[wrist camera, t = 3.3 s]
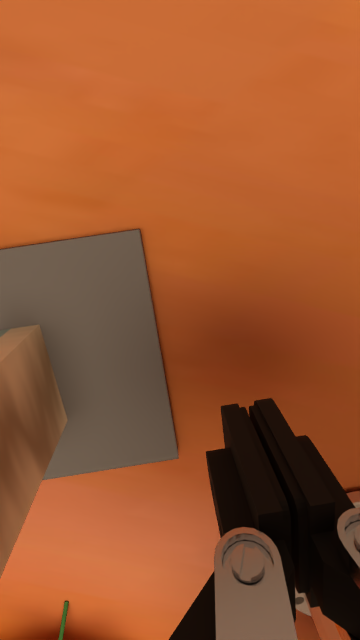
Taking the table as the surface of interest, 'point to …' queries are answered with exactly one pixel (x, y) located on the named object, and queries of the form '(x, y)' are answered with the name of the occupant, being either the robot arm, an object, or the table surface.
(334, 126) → the table surface
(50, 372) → the tile
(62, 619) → the lily
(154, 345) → the mat
